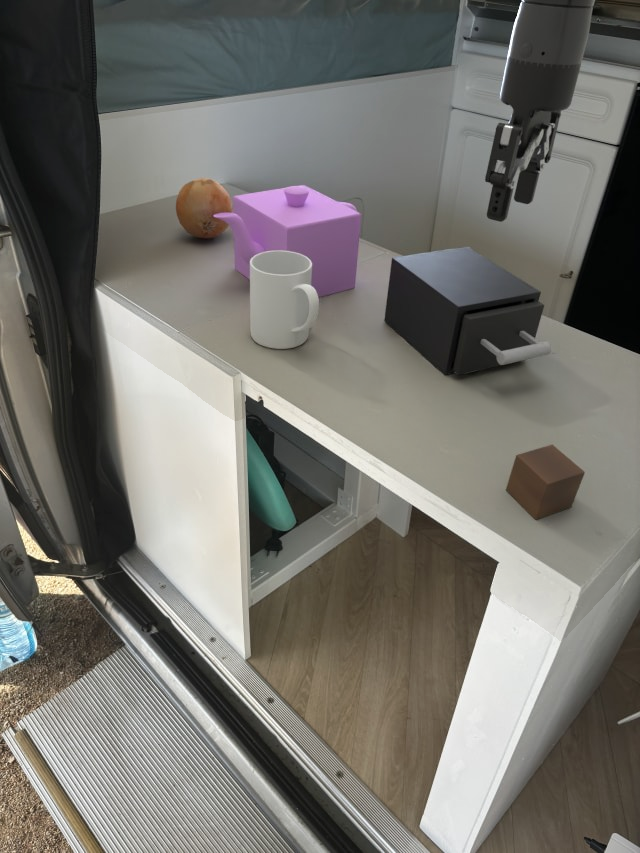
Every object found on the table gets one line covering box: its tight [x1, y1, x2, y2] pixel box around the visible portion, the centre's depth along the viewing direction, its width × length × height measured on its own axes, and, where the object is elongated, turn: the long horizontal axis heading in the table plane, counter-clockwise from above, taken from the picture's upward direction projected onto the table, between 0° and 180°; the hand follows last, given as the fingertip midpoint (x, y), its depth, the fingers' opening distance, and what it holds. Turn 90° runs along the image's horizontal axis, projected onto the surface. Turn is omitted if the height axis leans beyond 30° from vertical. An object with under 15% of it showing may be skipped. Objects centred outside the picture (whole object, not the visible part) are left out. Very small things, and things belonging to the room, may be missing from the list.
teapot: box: [214, 184, 362, 298], centre depth 99 cm, size 15×25×14 cm, turn 125°
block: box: [505, 444, 586, 520], centre depth 64 cm, size 5×5×5 cm
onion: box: [175, 177, 233, 239], centre depth 113 cm, size 10×10×10 cm
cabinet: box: [383, 246, 542, 376], centre depth 88 cm, size 16×13×10 cm
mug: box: [249, 250, 320, 350], centre depth 84 cm, size 12×8×10 cm, turn 33°
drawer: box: [453, 300, 552, 376], centre depth 85 cm, size 20×11×8 cm, turn 25°
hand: (509, 210), depth 78 cm, fingers open, 8 cm apart
